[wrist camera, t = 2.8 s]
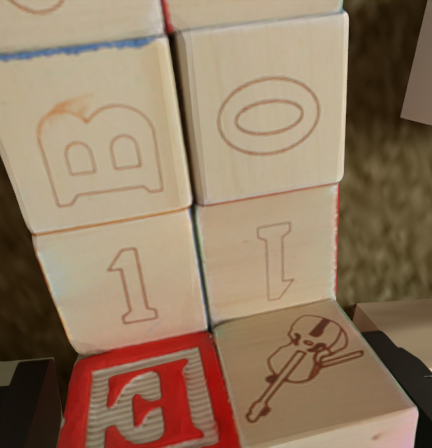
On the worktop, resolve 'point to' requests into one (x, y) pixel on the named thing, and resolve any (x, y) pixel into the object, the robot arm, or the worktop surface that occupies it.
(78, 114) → the stack of blocks
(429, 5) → the off-white cube
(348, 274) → the worktop surface
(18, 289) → the worktop surface
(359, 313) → the birch cube
